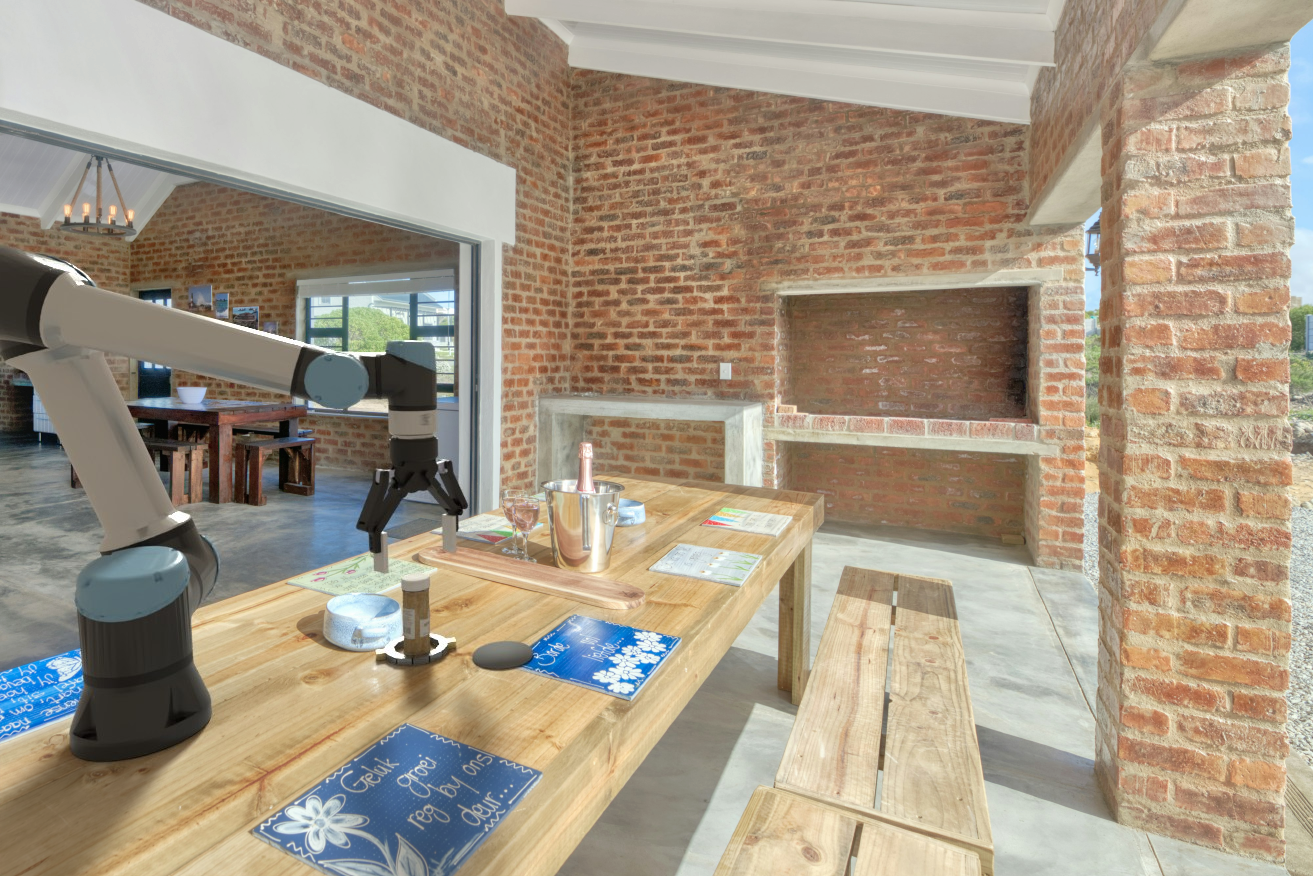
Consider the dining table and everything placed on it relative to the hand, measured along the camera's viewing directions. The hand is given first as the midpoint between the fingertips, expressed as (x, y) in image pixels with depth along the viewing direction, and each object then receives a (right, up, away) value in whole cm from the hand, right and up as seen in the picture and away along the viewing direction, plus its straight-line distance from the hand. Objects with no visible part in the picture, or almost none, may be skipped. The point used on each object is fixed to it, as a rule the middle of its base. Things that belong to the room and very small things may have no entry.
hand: (417, 561), depth 114 cm
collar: (-1, -16, +2) cm, 16 cm away
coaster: (+14, -16, +2) cm, 22 cm away
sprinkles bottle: (-1, -16, +2) cm, 16 cm away
